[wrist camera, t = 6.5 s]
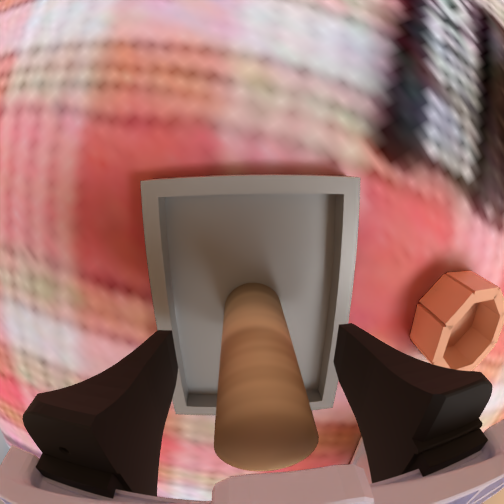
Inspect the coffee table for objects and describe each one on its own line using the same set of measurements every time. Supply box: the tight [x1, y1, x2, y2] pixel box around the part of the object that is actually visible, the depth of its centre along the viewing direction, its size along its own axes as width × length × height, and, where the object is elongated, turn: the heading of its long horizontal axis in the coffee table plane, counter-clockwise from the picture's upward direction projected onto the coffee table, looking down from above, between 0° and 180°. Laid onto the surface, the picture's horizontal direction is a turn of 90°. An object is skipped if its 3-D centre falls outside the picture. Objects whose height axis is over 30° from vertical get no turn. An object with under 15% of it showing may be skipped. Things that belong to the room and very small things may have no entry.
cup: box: [410, 271, 504, 371], centre depth 16 cm, size 7×7×3 cm
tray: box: [141, 174, 360, 415], centre depth 15 cm, size 14×10×2 cm
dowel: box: [214, 283, 319, 471], centre depth 11 cm, size 3×3×9 cm
